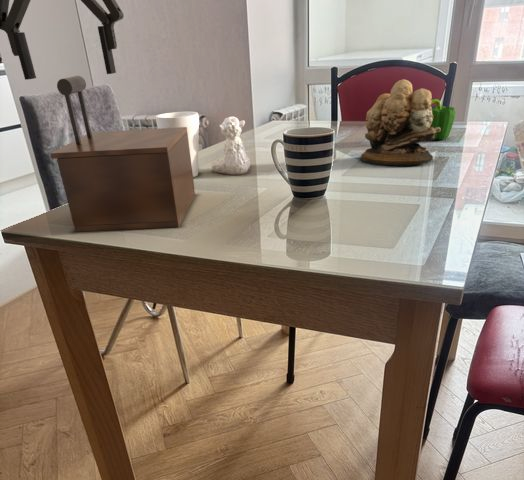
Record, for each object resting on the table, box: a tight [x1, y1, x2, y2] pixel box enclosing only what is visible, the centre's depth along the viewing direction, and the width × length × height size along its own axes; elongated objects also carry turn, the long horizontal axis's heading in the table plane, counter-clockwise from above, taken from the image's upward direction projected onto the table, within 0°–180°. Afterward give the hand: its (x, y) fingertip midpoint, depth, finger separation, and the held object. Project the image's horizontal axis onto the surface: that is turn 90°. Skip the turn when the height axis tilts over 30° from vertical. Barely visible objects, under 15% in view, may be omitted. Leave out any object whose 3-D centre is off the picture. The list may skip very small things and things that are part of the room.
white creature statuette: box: [211, 115, 251, 176], centre depth 116 cm, size 10×9×12 cm
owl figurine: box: [360, 78, 441, 167], centre depth 115 cm, size 18×12×17 cm, turn 57°
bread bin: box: [56, 132, 196, 233], centre depth 92 cm, size 18×20×12 cm
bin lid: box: [50, 75, 187, 160], centre depth 86 cm, size 19×20×11 cm
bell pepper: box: [430, 98, 456, 141], centre depth 136 cm, size 8×8×10 cm
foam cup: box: [155, 111, 200, 178], centre depth 115 cm, size 10×9×13 cm
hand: (71, 76), depth 83 cm, fingers open, 13 cm apart
